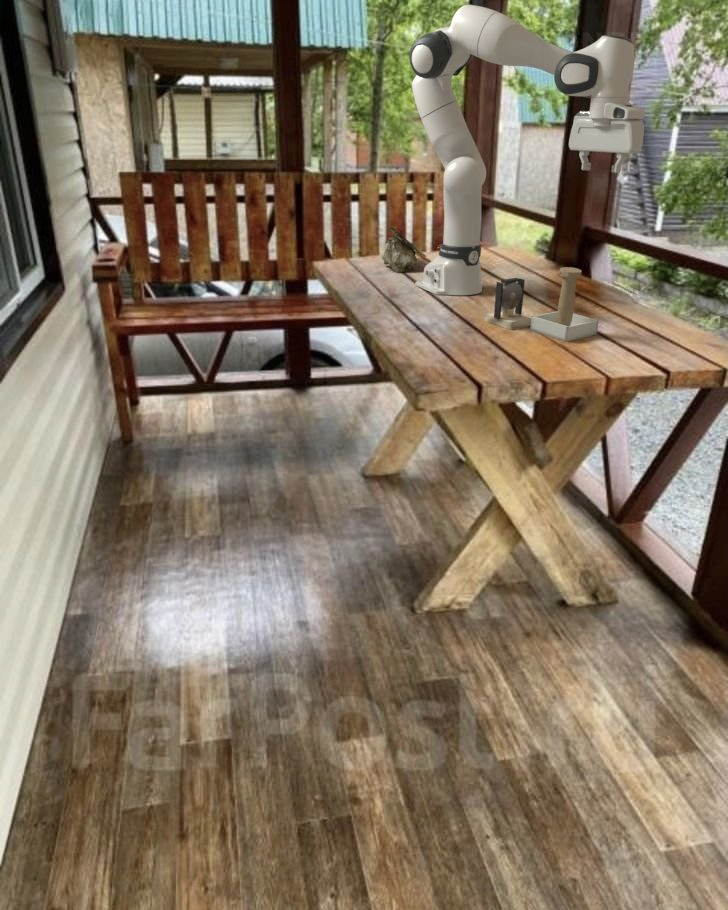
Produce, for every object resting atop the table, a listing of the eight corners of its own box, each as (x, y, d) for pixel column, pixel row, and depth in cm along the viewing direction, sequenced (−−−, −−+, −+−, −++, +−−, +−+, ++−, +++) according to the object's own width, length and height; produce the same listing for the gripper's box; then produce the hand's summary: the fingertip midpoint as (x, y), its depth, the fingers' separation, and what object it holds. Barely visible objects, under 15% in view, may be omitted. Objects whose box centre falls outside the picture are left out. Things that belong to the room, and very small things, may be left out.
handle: (558, 333, 184) (566, 272, 178) (549, 326, 190) (556, 267, 184) (577, 332, 185) (585, 272, 178) (567, 325, 191) (575, 267, 184)
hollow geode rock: (395, 271, 278) (368, 241, 274) (420, 247, 275) (393, 217, 270) (400, 285, 253) (370, 253, 248) (428, 259, 249) (398, 226, 245)
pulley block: (482, 321, 196) (485, 277, 191) (505, 317, 200) (508, 274, 196) (509, 330, 189) (513, 285, 184) (531, 325, 193) (536, 281, 188)
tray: (529, 330, 189) (531, 316, 187) (560, 323, 195) (561, 310, 193) (566, 341, 180) (567, 327, 178) (596, 334, 185) (598, 320, 184)
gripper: (566, 110, 186) (560, 169, 191) (634, 111, 170) (625, 175, 176) (583, 110, 189) (577, 168, 195) (651, 111, 173) (641, 173, 179)
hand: (600, 171), depth 185 cm, fingers open, 8 cm apart
